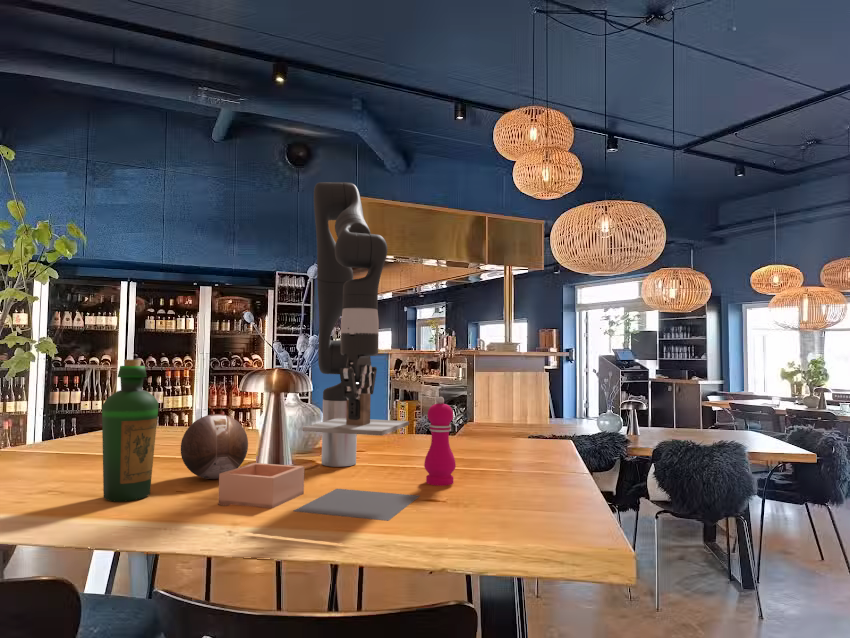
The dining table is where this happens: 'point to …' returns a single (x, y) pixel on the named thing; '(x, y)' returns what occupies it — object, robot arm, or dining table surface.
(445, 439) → the pepper mill
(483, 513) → the dining table surface
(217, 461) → the brown ball
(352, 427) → the lid
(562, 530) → the dining table surface
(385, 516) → the mat
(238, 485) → the pink storage bin
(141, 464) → the bottle
